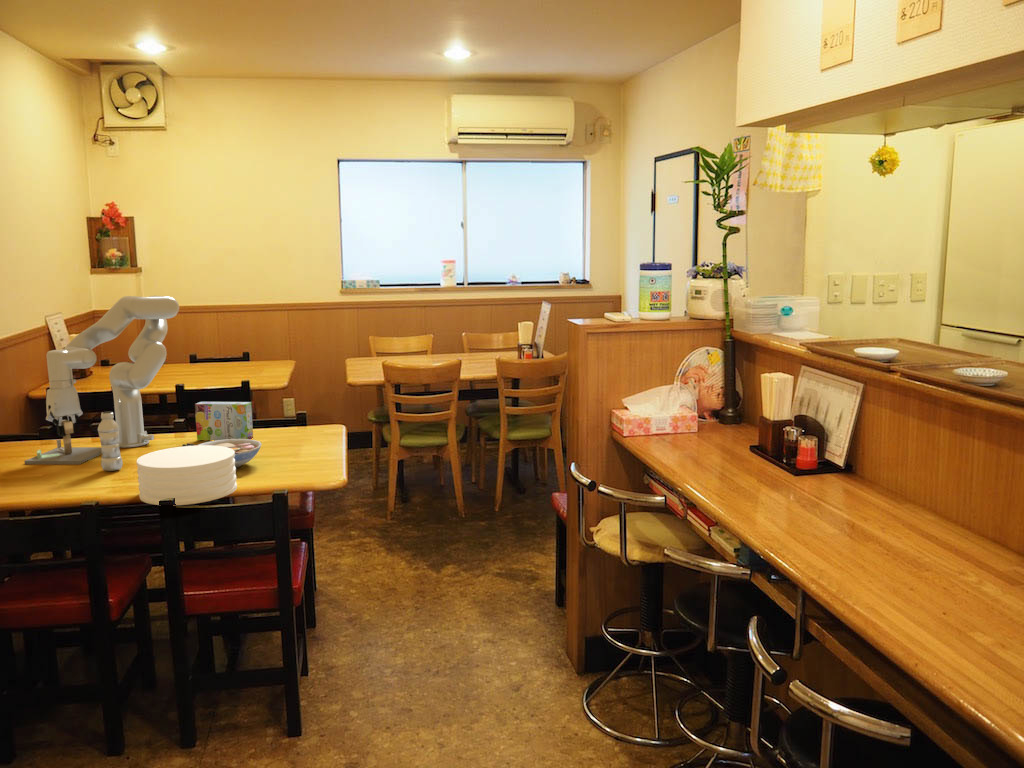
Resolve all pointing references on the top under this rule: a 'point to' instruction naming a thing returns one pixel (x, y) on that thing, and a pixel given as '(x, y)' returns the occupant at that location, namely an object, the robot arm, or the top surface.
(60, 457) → the dial board
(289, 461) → the top surface
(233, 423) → the snack box
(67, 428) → the dial handle
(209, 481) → the plate stack
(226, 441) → the ramen bowl
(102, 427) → the plastic bottle
